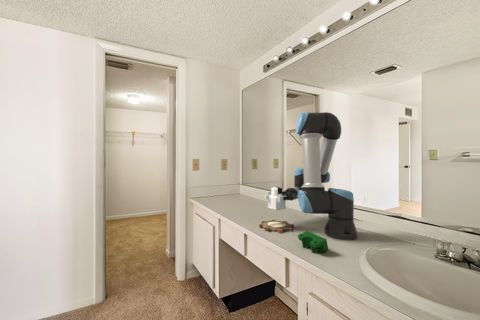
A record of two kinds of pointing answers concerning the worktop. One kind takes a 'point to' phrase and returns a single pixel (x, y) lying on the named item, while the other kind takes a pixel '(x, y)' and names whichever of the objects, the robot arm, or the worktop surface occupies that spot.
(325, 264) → the worktop surface
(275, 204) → the medicine bottle
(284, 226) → the sprocket plate
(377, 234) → the worktop surface
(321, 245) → the clamp
